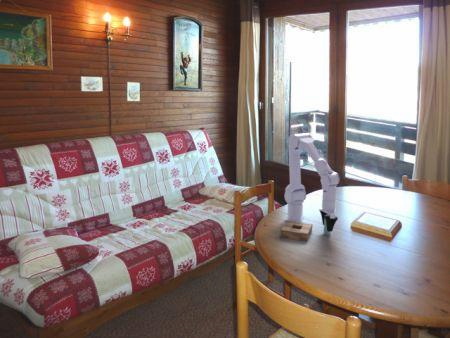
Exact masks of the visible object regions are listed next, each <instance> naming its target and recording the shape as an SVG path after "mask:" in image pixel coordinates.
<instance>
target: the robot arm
mask: <svg viewBox="0 0 450 338" xmlns="http://www.w3.org/2000/svg"><path fill="white" fill-rule="evenodd" d="M287 141H288V163H289V164H288V165H289V166H288V170H289V184H287V186H286V187H285V188H284V190H285V191H284V200H285V202H286V203H287V217H286V218H285V220H284V221H291V222H299V223H303V222H302V221H303V220H304V218H305V215H303V213H304V212H303V209H304V207H303V206H304V205H303V204H304V201H305V200H306V199H307V192H306V187H305V186H304V185H303V184H302V175H301V152H302V151H305V152H306V153H307V154H308V156H309V157H310V158H311V160H312V161H313V163H314V165H313V167H314V169H315V170H316V172H317V173H318V176H320V183H321V189H322V199H321V200H322V202H321V207H319V208H318V210H319V213H320V215H321V222H322V226H324V219H325V220H326V226H327V231H328V232H333V231H334V230H333V229H334V227H335V224H336V222H337V221H338V220H339V219H338V216H336V214H335V213H336V204H337V203H336V202H337V201H336V200H337V199H336V198H337V186H338V185H339V184H340V182H341V181H340V179H341V178H340V175H339V173H337V172H336V171H334V170H332V168H331V167H330V165H329V164H328V162H327V160H326V159H324V158H321V155H320V154H319V151H318V150H317V148H316V146H315V144H314V138H313V136H312V135H311V134H310V133H309V132H305V133H296V134H295V133H294V134H291V135H290V136H289V137H288V140H287ZM325 215H329V216H325Z"/></svg>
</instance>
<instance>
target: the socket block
mask: <svg viewBox="0 0 450 338" xmlns="http://www.w3.org/2000/svg"><path fill="white" fill-rule="evenodd" d="M312 232H313V224H311V223H305V222H301V223H299V222H291V221H286V222H285V223H284V225H283V226H282V227H281V229H280V238H282V239H287V240H289V239H291V240H297V241H303V242H304V241H305V242H308V241H309V239H310V236H311V234H312Z"/></svg>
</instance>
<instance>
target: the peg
mask: <svg viewBox="0 0 450 338" xmlns="http://www.w3.org/2000/svg"><path fill="white" fill-rule="evenodd" d="M325 216H329V215H325ZM331 232H332V231H331ZM331 232H328V231H327V226H326V220H325V219H324V225H323V235H324V236H327V237H328V236H331Z"/></svg>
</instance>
